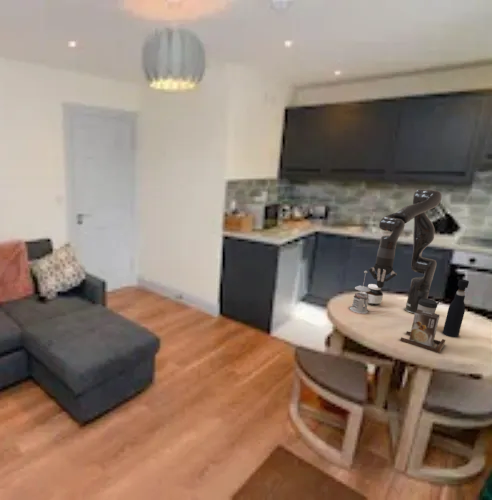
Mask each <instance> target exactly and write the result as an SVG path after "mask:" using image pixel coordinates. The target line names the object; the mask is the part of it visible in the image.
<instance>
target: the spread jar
mask: <svg viewBox="0 0 492 500" xmlns="http://www.w3.org/2000/svg"><path fill="white" fill-rule="evenodd" d="M367 287H368V288H369V289H370V290H371V291H369V292H362V291H359V293H362V294H366V295H367V294H369V295H368V296H370V298H369V297H368V298H369V300H368V304H369V306H379V305H381V304H382V302H383V297H384V294H383V293H384V292H383V291H382V288H378V286H377V283H376V284H375V283H368V285H367ZM360 300H364V299H360ZM366 300H367V299H366ZM366 300H364V301H366ZM369 301H370V303H369Z"/></svg>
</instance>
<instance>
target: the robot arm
mask: <svg viewBox="0 0 492 500" xmlns="http://www.w3.org/2000/svg"><path fill="white" fill-rule="evenodd" d="M442 195H443V194H442V193H441V191H439V190H434V189H425V188H418V189H416V190H415V192H414V193H413V197H412V204H409V205H405V206H404V207H402V208H400V209H399V210H398V211H396V212H393V213H390V214H387V215H385V216H383V217H382V218H381V219H380V220H379V222H378V227H379V229H380V230H382V231H384V232H390V235H387V234H386V235H381V237H380V241H379V245H378V249H377V252H376V258H375V264H374V265H373V266H372V267H370V268H368V271H369V273H370V274H371V276H372V278H373V279H374V280H376V285H377V286H378V288H381V289H382V288H383V287H384V286H385V282H389V281H391V279H393V278H395V277H397V275H398V273H397V272H395V271H394V262H395V256H396V248H397V243H398V240H399V238H400V236H401V235H402V232H403V231H404V229H405V224H407V223H409V222H410V221H412V220H413V233H412V235H413V237H412V238H413V240H412V241H413V244H412V245H413V246H412V255H411V263H410V265H411V266H410V267H411V271H413V272H414V273H418V274H421V275H423V276H419V277H418V276H417V277H412V278H411V280H410V285H409V289H408V294H407V299H406V303H405V307H404V310H405V311H406V312H407V313H410V314H414V315H415V312H416V311H417V309H418V301H419V300H420V299H421V298H425V299H429V295H430V289H431V285H432V282H433V280H434V275H435V273H436V269H437V260H435V259H432V258H428V257H423V256H422V255H423V251H424V250H425V249H426V248H427V247H428V246H430V245H431V244H432V242H433V241H434V239H435V226H434V224H433V222H432V220H431V219H430V218H429V216H428V215H427V212H429V211H430V210H433V209H435V208H436V207H437V206H439V205H440V203H441V201H442ZM388 275H390V276H389V277H387V276H388ZM436 302H437V305H438V304H439V303H442V300H441V299H439V300H438V301H436Z"/></svg>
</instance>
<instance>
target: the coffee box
mask: <svg viewBox="0 0 492 500" xmlns="http://www.w3.org/2000/svg"><path fill="white" fill-rule="evenodd" d="M439 319H440V314H438V313H435V314H434V313H430V312H427V311H423V310H419V309H418V310H417V311H416V312H415V314H414V316H413V320H412V325H411V330H410V332H411V335H409V339H408V340H411V341H415V342H418V343H421V344H424V345H427V346H430V347H434V344H435V343H434V340H435V338H436V334H437V330H438V324H439Z"/></svg>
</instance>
